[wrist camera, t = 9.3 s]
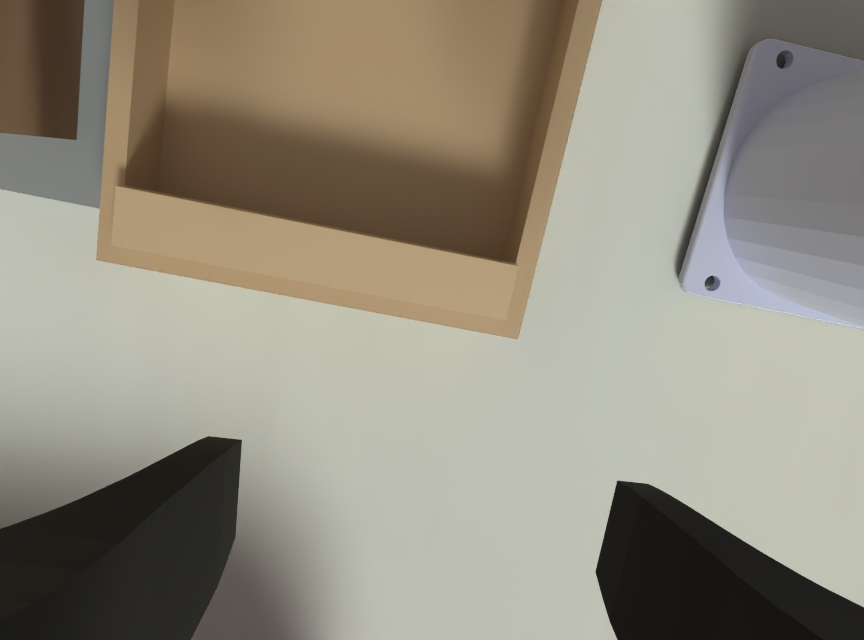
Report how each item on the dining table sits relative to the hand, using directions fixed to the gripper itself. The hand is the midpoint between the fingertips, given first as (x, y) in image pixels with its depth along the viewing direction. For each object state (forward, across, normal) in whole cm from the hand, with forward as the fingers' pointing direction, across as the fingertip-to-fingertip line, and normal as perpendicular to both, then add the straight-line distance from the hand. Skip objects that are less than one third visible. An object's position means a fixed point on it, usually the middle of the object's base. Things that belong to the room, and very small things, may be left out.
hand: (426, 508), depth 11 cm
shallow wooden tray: (+9, +3, -9) cm, 13 cm away
